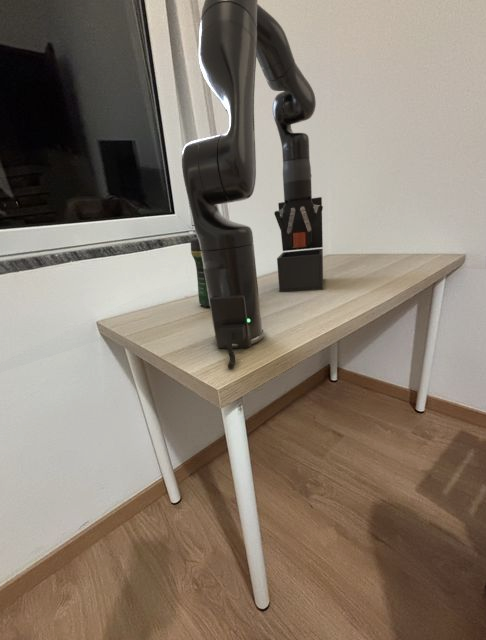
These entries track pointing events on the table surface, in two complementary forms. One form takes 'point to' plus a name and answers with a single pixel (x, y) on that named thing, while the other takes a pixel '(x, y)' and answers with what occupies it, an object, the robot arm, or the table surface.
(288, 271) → the black open box
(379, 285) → the table surface
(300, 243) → the red cylinder
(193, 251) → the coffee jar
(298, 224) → the lid
